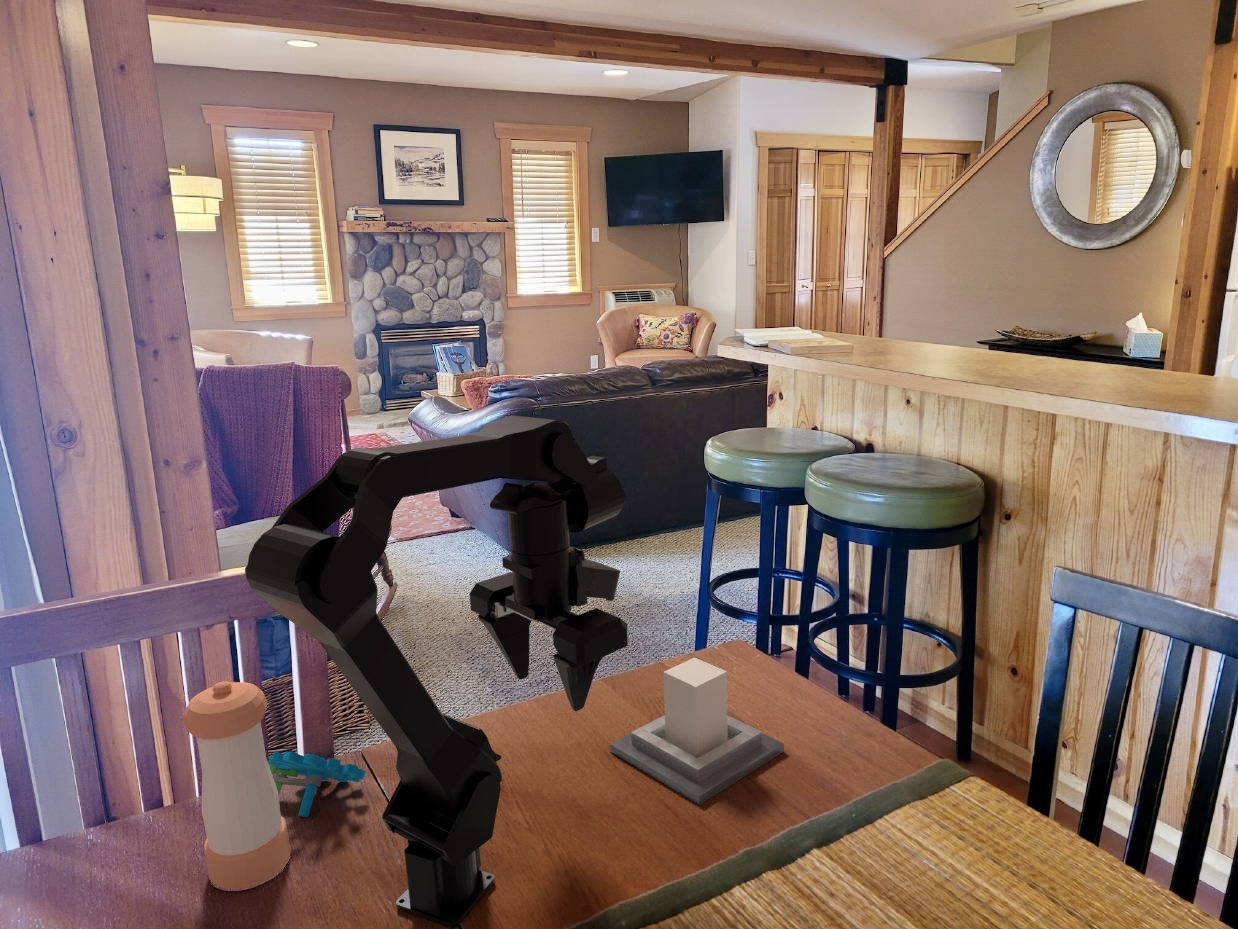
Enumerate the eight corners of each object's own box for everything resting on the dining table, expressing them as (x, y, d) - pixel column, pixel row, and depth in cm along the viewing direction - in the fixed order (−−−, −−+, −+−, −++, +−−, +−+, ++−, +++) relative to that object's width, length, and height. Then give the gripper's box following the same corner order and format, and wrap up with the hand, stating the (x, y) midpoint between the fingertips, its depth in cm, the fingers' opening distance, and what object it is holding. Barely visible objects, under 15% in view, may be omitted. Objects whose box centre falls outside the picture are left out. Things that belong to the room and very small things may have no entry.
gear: (385, 771, 94) (328, 746, 86) (370, 828, 91) (310, 808, 83) (305, 767, 98) (244, 743, 91) (289, 822, 95) (224, 802, 88)
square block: (697, 761, 95) (695, 687, 93) (665, 744, 98) (663, 672, 96) (727, 744, 98) (726, 671, 96) (695, 727, 102) (694, 657, 99)
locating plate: (699, 805, 89) (698, 783, 88) (610, 751, 99) (609, 732, 98) (784, 751, 98) (784, 731, 97) (694, 707, 108) (694, 689, 107)
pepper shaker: (291, 878, 80) (264, 692, 76) (206, 902, 78) (172, 710, 73) (290, 833, 87) (264, 658, 83) (211, 852, 84) (180, 674, 80)
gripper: (667, 546, 81) (672, 696, 85) (548, 509, 95) (556, 640, 98) (575, 578, 74) (584, 740, 78) (461, 533, 88) (473, 673, 91)
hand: (549, 693), depth 86 cm, fingers open, 9 cm apart
